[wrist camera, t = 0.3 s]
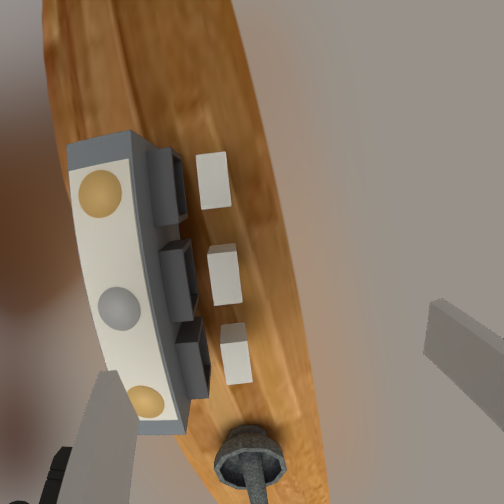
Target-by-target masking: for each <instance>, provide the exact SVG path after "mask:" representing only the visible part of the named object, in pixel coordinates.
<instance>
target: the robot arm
mask: <svg viewBox="0 0 504 504" xmlns="http://www.w3.org/2000/svg"><path fill="white" fill-rule="evenodd" d="M423 354H424V355H425V356H427V357H428V358H429V359H430V360H431V361H432V362H433V363H434V364H435V365H436V366H437V367H438V368H439V369H440V370H441V371H442V372H443V373H444V374H446V375H447V376H448V377H449V378H450V379H451V380H452V381H453V382H454V383H455V384H456V385H457V386H458V387H459V388H460V389H461V390H462V391H463V392H464V393H465V394H466V395H467V396H469V398H470V399H471V400H473V402H474V403H476V405H478V406H479V407H480V408H481V409H482V410H483V411H484V412H485V413H486V414H487V415H488V416H489V417H490V418H491V419H492V420H493V421H494V422H495V423H496V424H497V425H498V426H499V427H500V428H501V429H502V430H503V432H504V338H501V337H500V336H498V335H497V334H496V333H494V332H493V331H491V330H490V329H488V328H487V327H485V326H484V325H482V324H481V323H479V322H478V321H476V320H475V319H474V318H472V317H470V316H469V315H467V314H466V313H464V312H463V311H461V310H460V309H458V308H457V307H455V306H454V305H452V304H451V303H449V302H448V301H446V300H445V299H443V298H441V299H438V300H435V301H433V302H430V306H429V316H428V323H427V331H426V339H425V346H424V351H423ZM139 420H140V419H139V417H138V415H137V413H136V411H135V409H134V407H133V405H132V403H131V401H130V399H129V396H128V394H127V392H126V390H125V388H124V385H123V383H122V381H121V378H120V376H119V374H118V371H117V370H110V371H100V372H99V374H98V377H97V379H96V382H95V385H94V387H93V390H92V393H91V396H90V398H89V401H88V404H87V407H86V409H85V412H84V415H83V418H82V421H81V424H80V426H79V429H78V432H77V435H76V439H75V442H74V445H73V447H61V449H60V450H59V451H58V452H57V454H56V455H55V456H54V458H53V461H52V464H51V467H50V471H49V473H48V476H47V480H46V482H45V485H44V488H43V492H42V495H41V499H40V502H39V504H129V496H130V487H131V477H132V470H133V461H134V454H135V447H136V439H137V433H138V426H139ZM10 504H29V503H27V502H25V501H14V502H11V503H10Z"/></svg>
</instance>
